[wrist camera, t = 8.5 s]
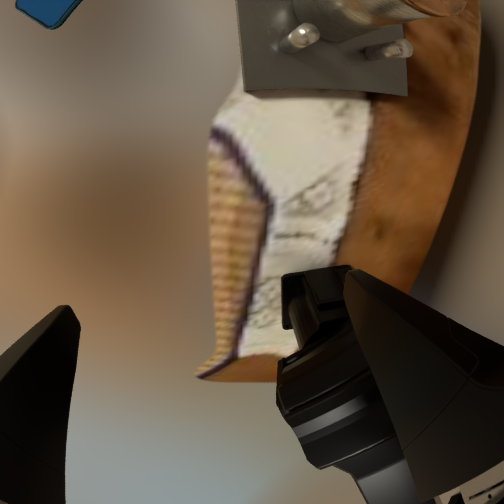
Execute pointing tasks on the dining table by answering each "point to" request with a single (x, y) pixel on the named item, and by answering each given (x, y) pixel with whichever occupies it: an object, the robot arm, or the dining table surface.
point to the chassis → (316, 53)
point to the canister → (368, 14)
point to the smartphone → (48, 11)
